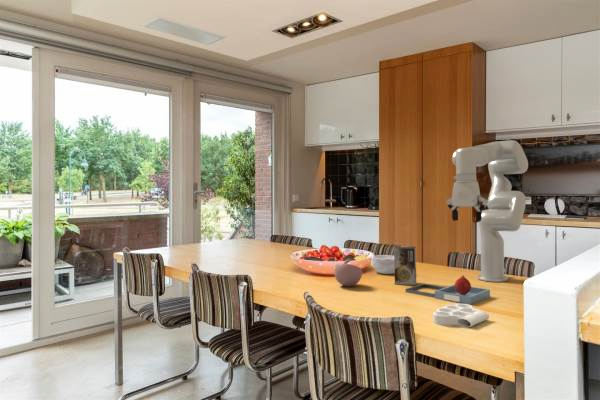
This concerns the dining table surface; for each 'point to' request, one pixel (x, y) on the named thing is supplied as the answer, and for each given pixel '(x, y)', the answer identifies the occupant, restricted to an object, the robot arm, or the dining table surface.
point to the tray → (469, 298)
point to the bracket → (413, 290)
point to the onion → (462, 286)
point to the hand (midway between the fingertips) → (466, 221)
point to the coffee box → (405, 265)
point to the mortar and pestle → (347, 273)
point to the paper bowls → (383, 264)
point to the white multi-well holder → (459, 315)
